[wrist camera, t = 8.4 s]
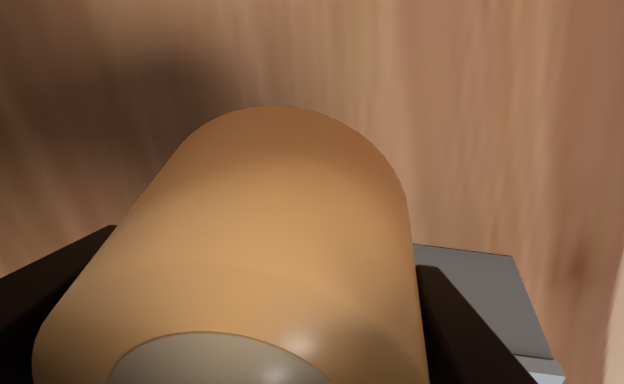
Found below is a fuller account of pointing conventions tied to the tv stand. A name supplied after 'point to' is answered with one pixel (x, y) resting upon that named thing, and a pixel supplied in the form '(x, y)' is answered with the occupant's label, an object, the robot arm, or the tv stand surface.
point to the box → (492, 295)
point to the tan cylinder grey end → (250, 267)
